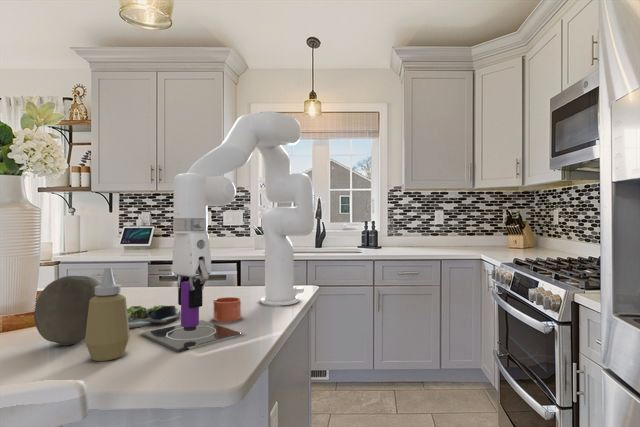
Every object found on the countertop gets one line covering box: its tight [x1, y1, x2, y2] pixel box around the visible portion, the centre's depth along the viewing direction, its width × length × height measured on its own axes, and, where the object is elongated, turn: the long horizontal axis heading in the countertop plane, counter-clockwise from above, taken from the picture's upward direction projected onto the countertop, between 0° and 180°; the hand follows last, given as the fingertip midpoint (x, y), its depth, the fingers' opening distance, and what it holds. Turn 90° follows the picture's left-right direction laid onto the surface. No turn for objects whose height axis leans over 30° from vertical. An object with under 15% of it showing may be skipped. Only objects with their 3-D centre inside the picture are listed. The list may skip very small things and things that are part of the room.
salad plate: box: [127, 304, 181, 329], centre depth 108 cm, size 19×18×5 cm
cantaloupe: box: [33, 275, 101, 346], centre depth 90 cm, size 14×14×15 cm
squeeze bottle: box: [84, 266, 131, 362], centre depth 81 cm, size 8×8×18 cm
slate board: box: [141, 319, 242, 353], centre depth 95 cm, size 16×18×1 cm
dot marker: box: [180, 280, 200, 331], centre depth 92 cm, size 4×4×11 cm
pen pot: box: [212, 296, 242, 323], centre depth 110 cm, size 7×7×6 cm
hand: (190, 304), depth 92 cm, fingers closed on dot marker, 4 cm apart
